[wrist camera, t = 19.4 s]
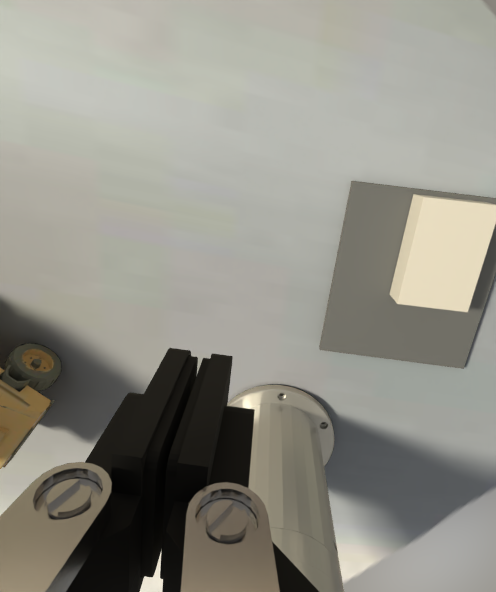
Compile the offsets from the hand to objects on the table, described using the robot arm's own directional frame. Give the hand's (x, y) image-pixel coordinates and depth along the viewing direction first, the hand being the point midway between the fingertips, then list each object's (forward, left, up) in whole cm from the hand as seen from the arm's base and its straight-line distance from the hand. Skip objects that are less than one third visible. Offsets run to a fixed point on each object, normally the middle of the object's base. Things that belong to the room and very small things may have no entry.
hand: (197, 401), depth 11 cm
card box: (0, -13, -25) cm, 28 cm away
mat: (-3, -15, -27) cm, 31 cm away
